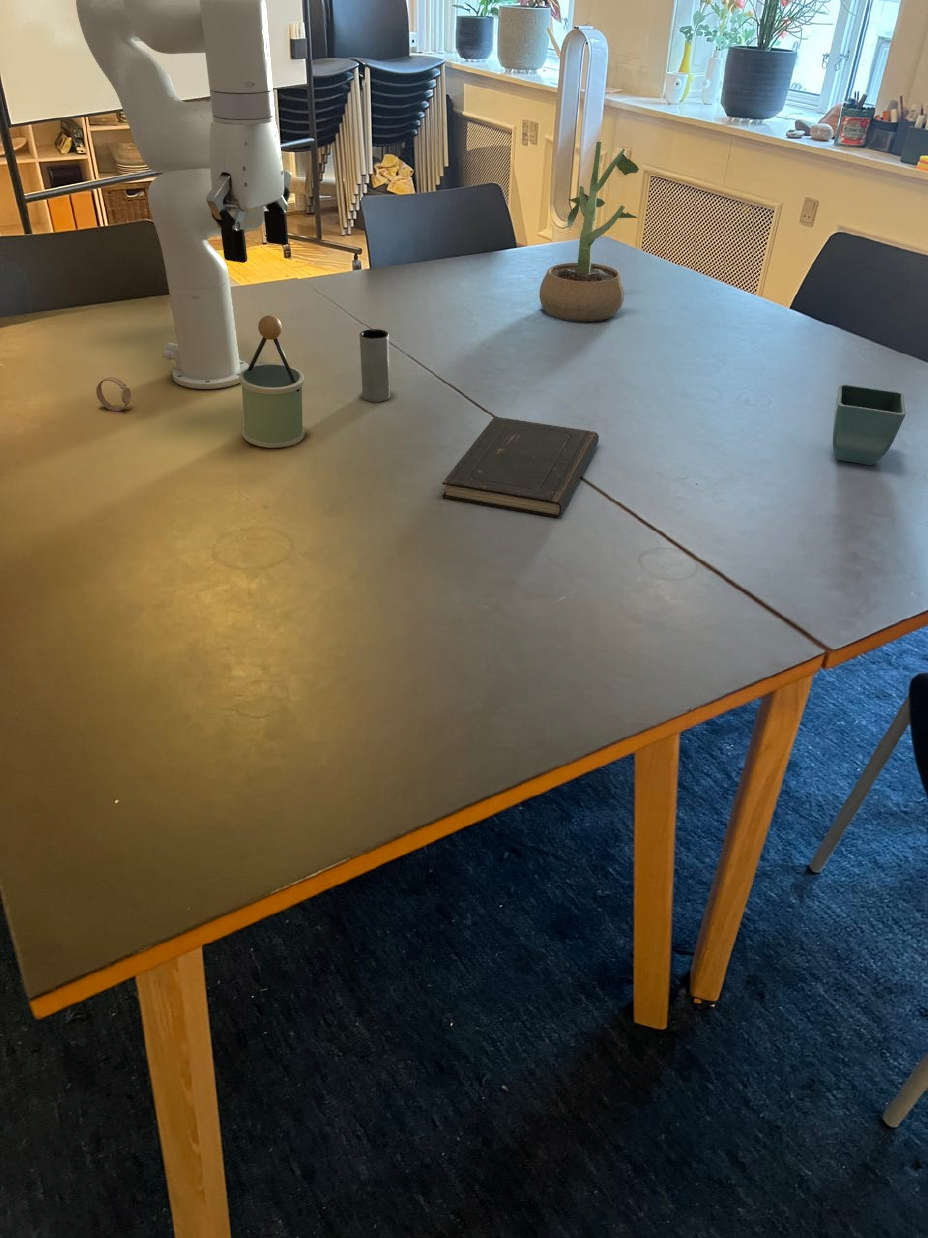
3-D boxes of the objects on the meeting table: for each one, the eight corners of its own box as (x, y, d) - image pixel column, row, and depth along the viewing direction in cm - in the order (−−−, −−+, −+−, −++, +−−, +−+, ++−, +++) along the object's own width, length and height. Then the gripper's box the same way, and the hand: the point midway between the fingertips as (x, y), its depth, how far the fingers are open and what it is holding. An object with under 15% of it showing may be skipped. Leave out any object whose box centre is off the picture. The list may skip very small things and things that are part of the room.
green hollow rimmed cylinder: (283, 453, 135) (230, 437, 138) (315, 430, 142) (264, 415, 144) (280, 332, 125) (222, 318, 127) (315, 313, 131) (259, 300, 134)
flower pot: (886, 449, 140) (904, 391, 135) (888, 474, 133) (906, 414, 128) (824, 440, 142) (839, 382, 137) (822, 464, 135) (838, 404, 130)
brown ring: (126, 413, 146) (119, 382, 143) (97, 411, 146) (90, 379, 143) (134, 407, 148) (128, 376, 145) (106, 404, 148) (99, 373, 146)
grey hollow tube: (386, 403, 151) (384, 339, 145) (359, 400, 151) (355, 336, 146) (393, 392, 154) (392, 330, 148) (367, 390, 155) (364, 327, 149)
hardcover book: (442, 497, 125) (442, 481, 124) (493, 430, 143) (494, 416, 141) (560, 518, 121) (561, 502, 120) (598, 446, 139) (599, 432, 137)
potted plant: (623, 328, 183) (642, 157, 166) (531, 319, 187) (541, 151, 169) (633, 295, 201) (652, 138, 184) (549, 288, 205) (560, 133, 187)
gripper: (257, 96, 123) (269, 233, 133) (173, 112, 110) (194, 264, 120) (306, 100, 121) (315, 240, 131) (227, 118, 108) (243, 272, 118)
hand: (257, 251), depth 126 cm, fingers open, 9 cm apart
